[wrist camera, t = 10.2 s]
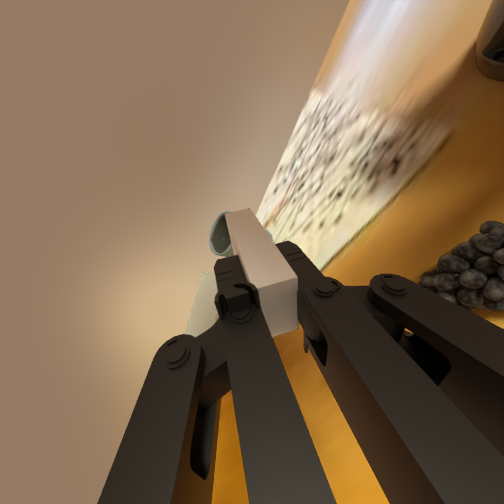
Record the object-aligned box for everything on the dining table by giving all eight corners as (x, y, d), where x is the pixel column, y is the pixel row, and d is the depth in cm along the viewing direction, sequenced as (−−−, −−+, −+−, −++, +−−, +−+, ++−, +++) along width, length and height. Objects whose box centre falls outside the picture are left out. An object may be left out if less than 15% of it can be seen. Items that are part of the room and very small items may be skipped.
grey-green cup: (278, 254, 48) (239, 241, 40) (249, 271, 54) (210, 262, 46) (270, 219, 53) (233, 201, 45) (244, 238, 59) (207, 225, 51)
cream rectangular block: (260, 282, 50) (202, 271, 40) (286, 292, 44) (225, 283, 34) (243, 342, 50) (180, 347, 39) (266, 361, 44) (199, 373, 33)
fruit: (402, 324, 22) (642, 243, 14) (371, 264, 28) (524, 183, 19) (434, 345, 26) (635, 292, 17) (400, 289, 31) (539, 229, 23)
